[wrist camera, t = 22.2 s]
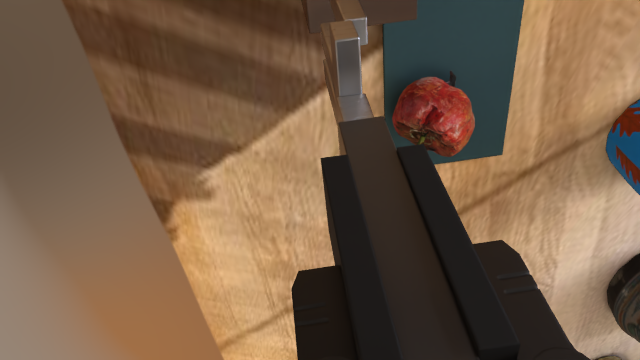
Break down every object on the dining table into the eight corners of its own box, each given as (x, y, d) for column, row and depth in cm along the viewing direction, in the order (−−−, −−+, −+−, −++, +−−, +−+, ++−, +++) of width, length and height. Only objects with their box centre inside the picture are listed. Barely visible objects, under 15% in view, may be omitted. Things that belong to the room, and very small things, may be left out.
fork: (308, -16, 21) (485, 584, 6) (348, -21, 21) (632, 560, 6) (321, 111, 24) (449, 686, 9) (355, 106, 24) (539, 670, 9)
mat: (381, -2, 45) (382, 0, 45) (525, -20, 45) (527, -19, 45) (385, 169, 56) (386, 171, 56) (500, 152, 56) (502, 155, 56)
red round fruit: (372, 169, 51) (412, 87, 54) (445, 199, 49) (482, 112, 52) (371, 132, 44) (418, 41, 47) (456, 164, 42) (498, 67, 45)
